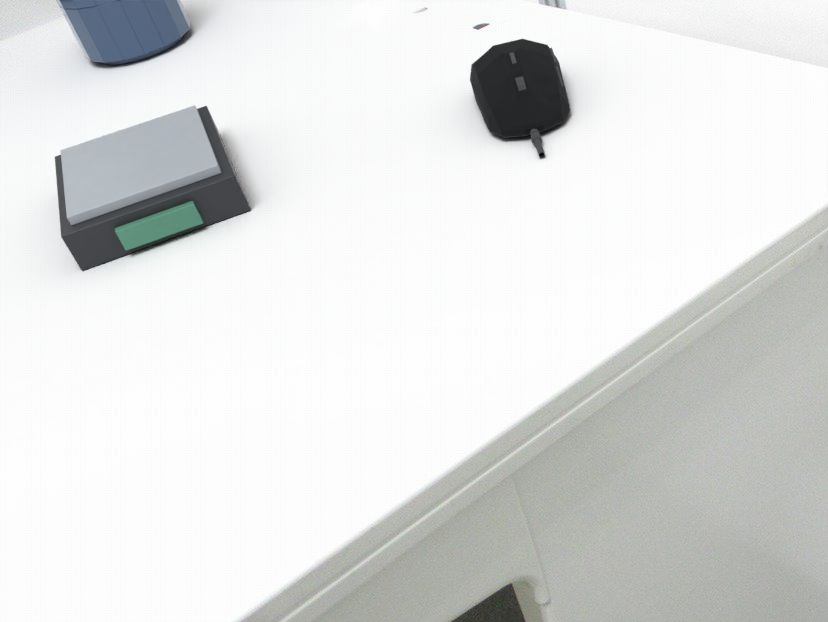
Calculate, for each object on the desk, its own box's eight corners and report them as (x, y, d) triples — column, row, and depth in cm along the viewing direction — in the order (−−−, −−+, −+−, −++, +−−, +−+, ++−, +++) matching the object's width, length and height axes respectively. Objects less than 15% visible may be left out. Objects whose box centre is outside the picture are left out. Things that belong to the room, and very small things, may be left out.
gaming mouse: (494, 170, 68) (477, 110, 66) (471, 85, 79) (456, 30, 77) (590, 145, 69) (577, 84, 66) (554, 63, 80) (542, 8, 77)
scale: (72, 188, 78) (49, 148, 76) (221, 137, 80) (202, 97, 78) (82, 275, 67) (55, 231, 65) (252, 213, 70) (232, 169, 68)
